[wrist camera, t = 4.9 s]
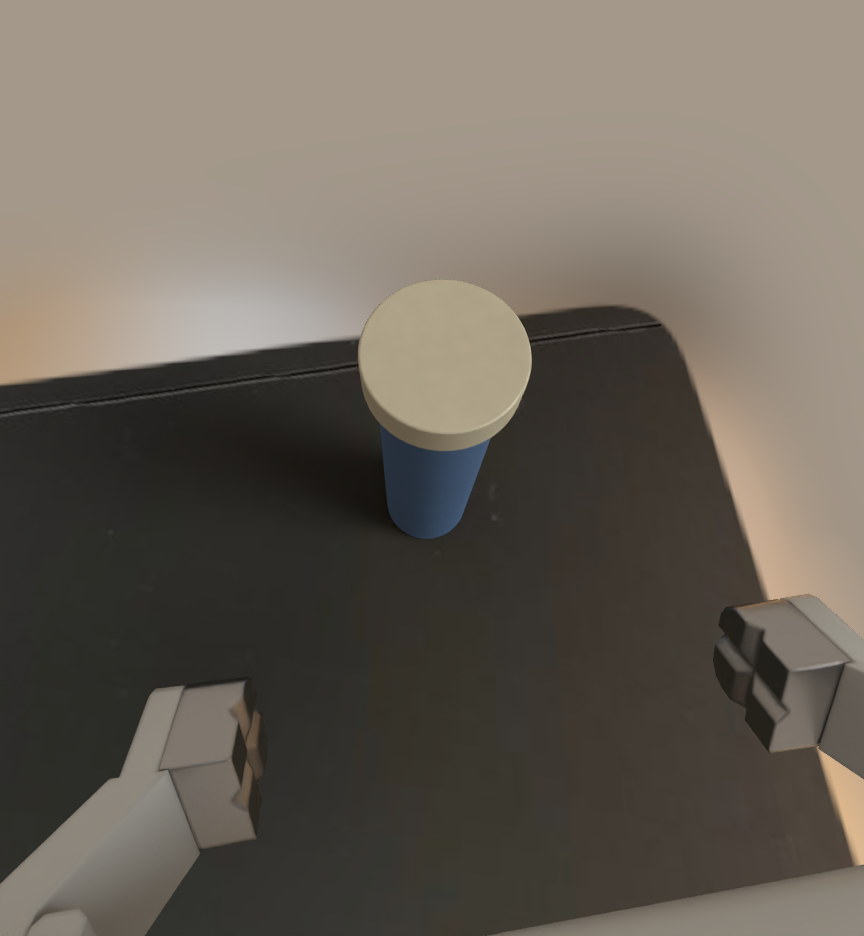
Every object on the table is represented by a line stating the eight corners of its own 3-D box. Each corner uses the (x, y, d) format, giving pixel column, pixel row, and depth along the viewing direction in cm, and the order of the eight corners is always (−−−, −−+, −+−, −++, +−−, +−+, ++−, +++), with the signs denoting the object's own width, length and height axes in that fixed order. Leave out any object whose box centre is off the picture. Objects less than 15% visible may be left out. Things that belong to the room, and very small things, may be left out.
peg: (467, 452, 23) (518, 273, 13) (478, 542, 22) (545, 425, 12) (375, 460, 23) (352, 283, 12) (382, 551, 22) (363, 440, 11)
